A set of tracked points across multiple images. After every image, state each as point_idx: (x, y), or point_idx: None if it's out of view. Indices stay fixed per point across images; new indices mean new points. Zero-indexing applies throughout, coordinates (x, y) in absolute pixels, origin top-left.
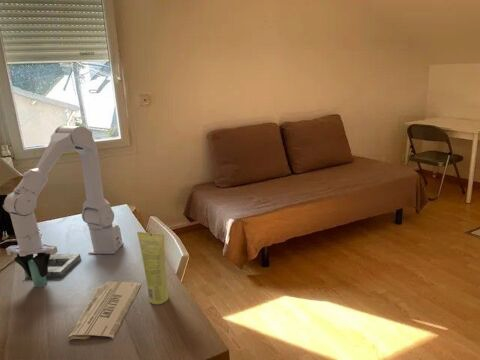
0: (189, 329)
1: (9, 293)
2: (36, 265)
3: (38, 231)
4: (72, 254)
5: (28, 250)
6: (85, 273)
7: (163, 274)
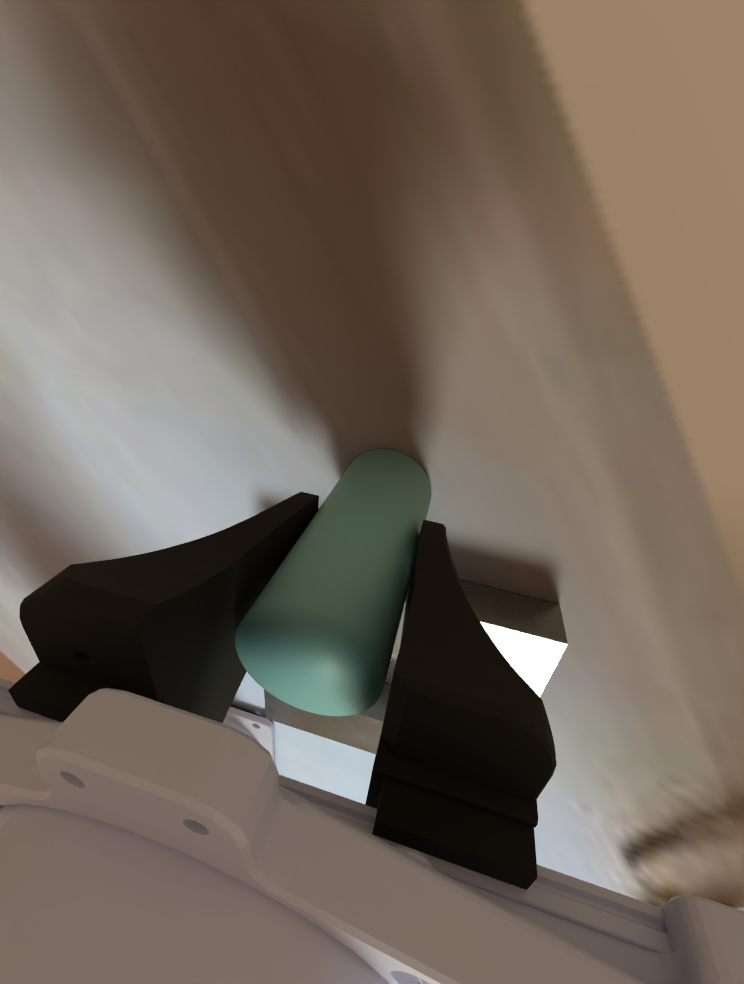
0: None
1: (615, 396)
2: (274, 577)
3: None
4: (308, 728)
5: (4, 857)
6: (163, 547)
7: None
